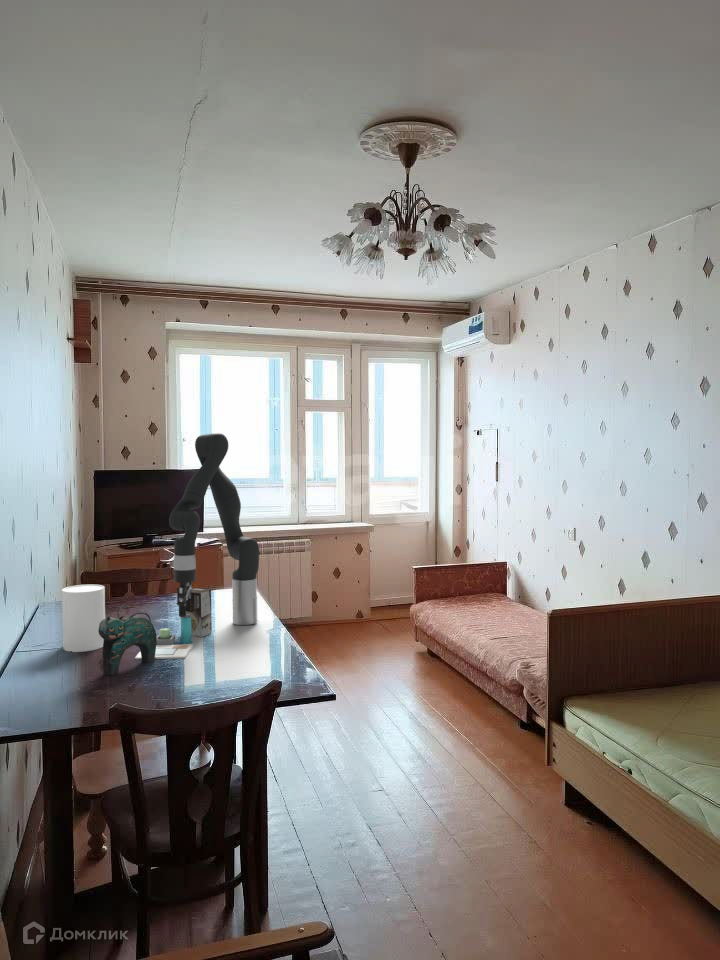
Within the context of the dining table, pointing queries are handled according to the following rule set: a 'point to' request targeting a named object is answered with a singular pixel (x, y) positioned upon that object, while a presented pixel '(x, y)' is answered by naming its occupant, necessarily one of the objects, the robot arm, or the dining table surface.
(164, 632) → the button
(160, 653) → the sheet
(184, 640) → the teal capped bottle
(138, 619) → the ceramic cat
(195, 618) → the coffee box
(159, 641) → the button housing
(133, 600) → the dining table surface
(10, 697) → the dining table surface
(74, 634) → the canister
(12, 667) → the dining table surface
